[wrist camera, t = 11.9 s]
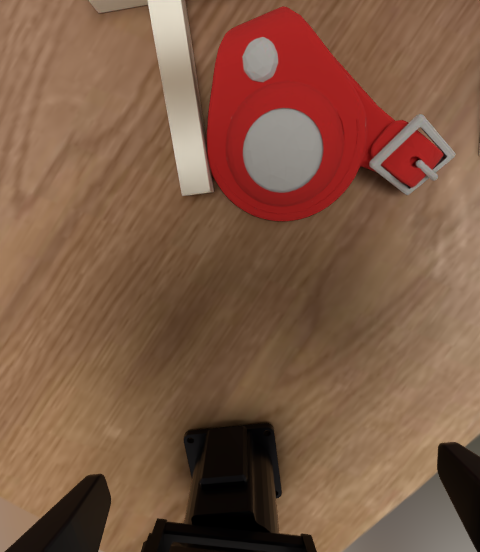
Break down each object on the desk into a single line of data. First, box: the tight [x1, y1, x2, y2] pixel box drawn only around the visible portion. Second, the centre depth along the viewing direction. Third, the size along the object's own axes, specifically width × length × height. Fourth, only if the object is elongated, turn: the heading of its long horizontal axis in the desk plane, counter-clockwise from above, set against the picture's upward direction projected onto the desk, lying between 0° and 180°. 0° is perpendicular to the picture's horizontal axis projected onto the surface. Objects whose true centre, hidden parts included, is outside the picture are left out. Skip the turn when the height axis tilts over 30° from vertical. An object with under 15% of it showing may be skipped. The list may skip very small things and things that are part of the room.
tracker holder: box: [207, 7, 455, 221], centre depth 16 cm, size 12×4×10 cm
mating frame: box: [88, 0, 480, 196], centre depth 14 cm, size 12×25×3 cm, turn 98°
